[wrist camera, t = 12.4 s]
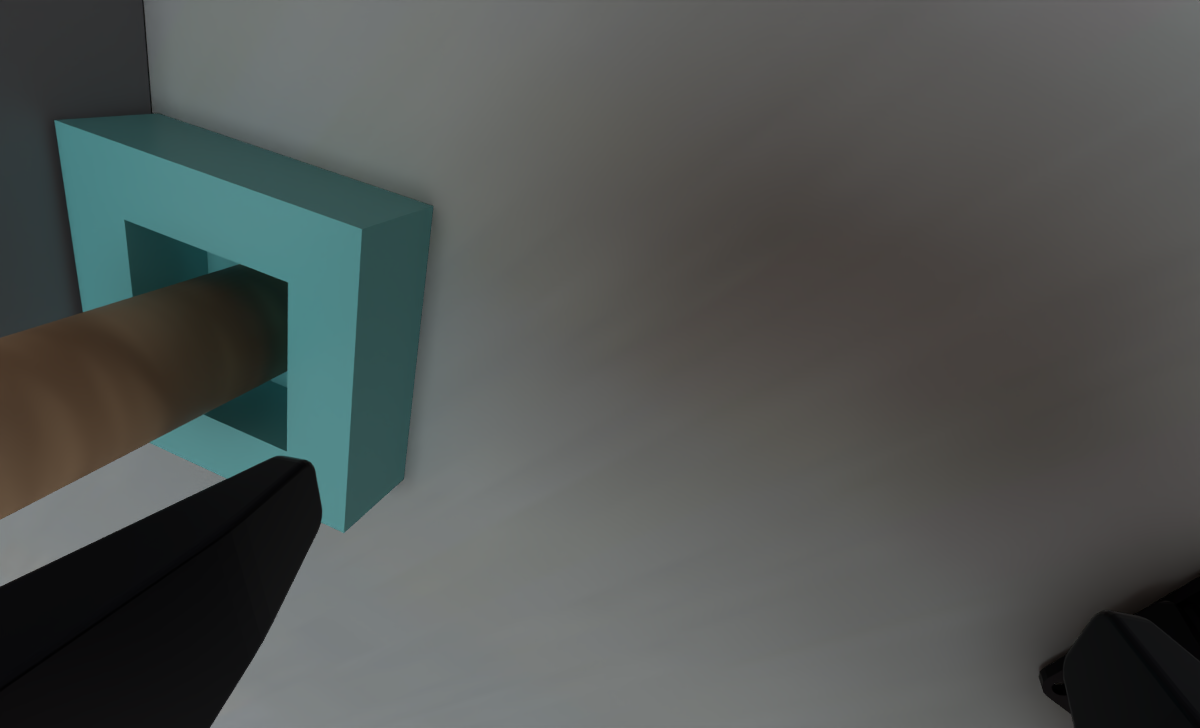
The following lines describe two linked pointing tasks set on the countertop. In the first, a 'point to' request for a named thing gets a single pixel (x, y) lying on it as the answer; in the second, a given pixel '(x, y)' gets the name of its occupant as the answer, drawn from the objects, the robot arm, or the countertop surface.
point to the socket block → (280, 249)
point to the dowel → (131, 375)
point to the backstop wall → (55, 136)
